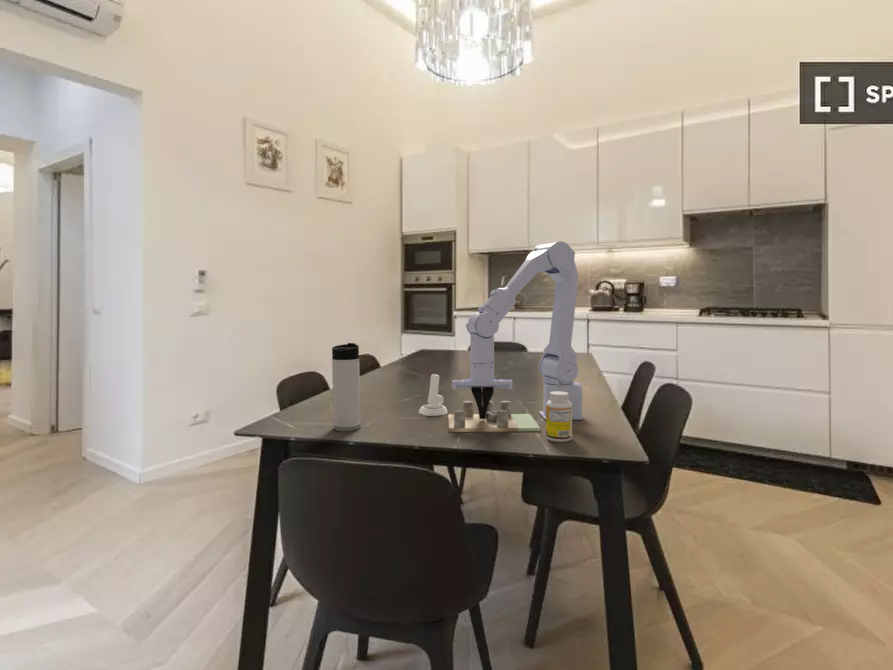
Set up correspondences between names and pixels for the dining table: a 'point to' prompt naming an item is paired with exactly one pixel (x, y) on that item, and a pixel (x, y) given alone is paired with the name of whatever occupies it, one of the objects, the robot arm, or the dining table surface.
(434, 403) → the hook
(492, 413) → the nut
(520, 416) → the felt mat
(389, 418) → the dining table surface
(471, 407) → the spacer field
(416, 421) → the dining table surface
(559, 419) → the supplement bottle
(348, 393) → the travel mug
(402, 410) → the dining table surface
